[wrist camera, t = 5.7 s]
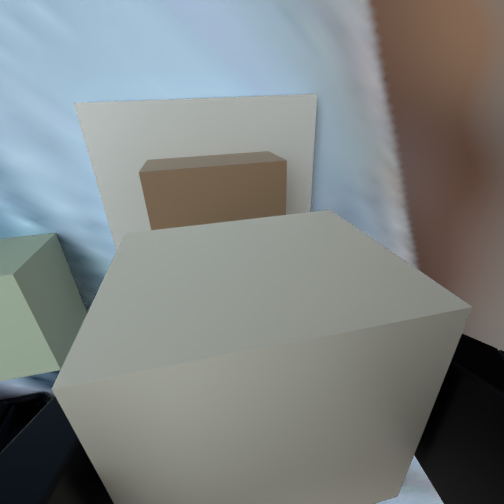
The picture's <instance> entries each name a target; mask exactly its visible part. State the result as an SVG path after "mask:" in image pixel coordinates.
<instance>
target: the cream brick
mask: <svg viewBox="0 0 504 504" xmlns="http://www.w3.org/2000/svg"><path fill="white" fill-rule="evenodd" d="M471 309H472V306H470V305H469V304H467V303H466V302H464V301H463V300H461V299H459V298H458V297H457V296H456V295H454V294H453V293H451V292H450V291H448V290H447V289H445V288H444V287H442V286H441V285H439V284H438V283H437V282H435V281H433V280H432V279H431V278H429V277H428V276H426V275H425V274H423V273H422V272H421V271H419V270H418V269H416V268H415V267H413V266H412V265H410V264H409V263H407V262H406V261H404V260H403V259H402V258H400V257H399V256H397V255H396V254H394V253H393V252H391V251H390V250H388V249H387V248H385V247H384V246H383V245H381V244H380V243H378V242H377V241H375V240H374V239H372V238H371V237H369V236H368V235H367V234H365V233H364V232H362V231H361V230H359V229H358V228H356V227H355V226H353V225H352V224H350V223H349V222H348V221H346V220H345V219H343V218H342V217H340V216H339V215H337V214H336V213H334V212H333V211H332V210H324V211H315V212H306V213H298V214H289V215H280V216H271V217H263V218H254V219H245V220H237V221H228V222H219V223H211V224H202V225H193V226H184V227H176V228H167V229H158V230H150V231H141V232H132V233H125V234H124V237H123V239H122V241H121V243H120V245H119V247H118V249H117V251H116V254H115V256H114V258H113V260H112V262H111V264H110V266H109V268H108V271H107V273H106V275H105V277H104V279H103V281H102V283H101V285H100V288H99V290H98V292H97V294H96V296H95V298H94V300H93V302H92V304H91V307H90V309H89V311H88V313H87V315H86V317H85V319H84V321H83V324H82V326H81V328H80V330H79V332H78V334H77V336H76V338H75V341H74V343H73V345H72V347H71V349H70V351H69V353H68V355H67V358H66V360H65V362H64V364H63V366H62V368H61V370H60V372H59V375H58V377H57V379H56V381H55V383H54V385H53V387H52V391H53V393H54V395H55V397H56V398H57V400H58V402H59V404H60V406H61V408H62V409H63V411H64V413H65V415H66V417H67V418H68V420H69V422H70V424H71V426H72V428H73V429H74V431H75V433H76V435H77V437H78V439H79V440H80V442H81V444H82V446H83V448H84V450H85V451H86V453H87V455H88V457H89V459H90V460H91V462H92V464H93V466H94V468H95V470H96V471H97V473H98V475H99V477H100V479H101V481H102V482H103V484H104V486H105V488H106V490H107V492H108V493H109V495H110V497H111V499H112V501H113V502H114V504H375V503H378V502H381V501H385V500H388V499H391V498H394V497H397V496H398V494H399V492H400V489H401V487H402V484H403V482H404V479H405V477H406V474H407V472H408V469H409V467H410V464H411V461H412V459H413V456H414V454H415V451H416V449H417V446H418V444H419V441H420V439H421V436H422V434H423V431H424V429H425V426H426V423H427V421H428V418H429V416H430V413H431V411H432V408H433V406H434V403H435V401H436V398H437V396H438V393H439V391H440V388H441V385H442V383H443V380H444V378H445V375H446V373H447V370H448V368H449V365H450V363H451V360H452V358H453V355H454V352H455V350H456V347H457V345H458V342H459V340H460V337H461V335H462V332H463V330H464V327H465V325H466V322H467V319H468V317H469V314H470V312H471Z"/></svg>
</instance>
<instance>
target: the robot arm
mask: <svg viewBox="0 0 504 504" xmlns="http://www.w3.org/2000/svg"><path fill="white" fill-rule="evenodd" d="M414 455H415V457H416V458H417V460H418V462H419V463H420V465H421V467H422V468H423V470H424V472H425V473H426V475H427V477H428V478H429V480H430V481H431V483H432V485H433V486H434V488H435V490H436V491H437V493H438V495H439V496H440V498H441V500H442V501H443V503H444V504H504V351H502V350H499V351H498V349H497V348H494V347H492V346H490V345H487V344H485V343H483V342H481V341H478V340H476V339H473V338H471V337H469V336H467V335H464V334H462V335H461V337H460V340H459V342H458V345H457V347H456V350H455V352H454V355H453V358H452V360H451V363H450V365H449V368H448V370H447V373H446V375H445V378H444V380H443V383H442V385H441V388H440V391H439V393H438V396H437V398H436V401H435V403H434V406H433V408H432V411H431V413H430V416H429V418H428V421H427V423H426V426H425V429H424V431H423V434H422V436H421V439H420V441H419V444H418V446H417V449H416V451H415V454H414ZM0 504H114V502H113V501H112V499H111V497H110V495H109V493H108V492H107V490H106V488H105V486H104V484H103V482H102V481H101V479H100V477H99V475H98V473H97V471H96V470H95V468H94V466H93V464H92V462H91V460H90V459H89V457H88V455H87V453H86V451H85V450H84V448H83V446H82V444H81V442H80V440H79V439H78V437H77V435H76V433H75V431H74V429H73V428H72V426H71V424H70V422H69V420H68V418H67V417H66V415H65V413H64V411H63V409H62V408H61V406H60V404H59V402H58V400H57V398H56V397H55V396H54V397H53V398H52V399H51V400H50V399H49V397H48V396H47V395H45V394H42V393H37V394H32V395H27V396H22V397H17V398H11V399H6V400H1V401H0Z"/></svg>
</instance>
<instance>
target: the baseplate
mask: <svg viewBox="0 0 504 504" xmlns="http://www.w3.org/2000/svg"><path fill="white" fill-rule="evenodd" d="M74 106H75V109H76V112H77V116H78V119H79V123H80V126H81V130H82V133H83V137H84V140H85V143H86V147H87V150H88V154H89V157H90V161H91V164H92V168H93V171H94V175H95V178H96V181H97V185H98V188H99V192H100V195H101V199H102V202H103V206H104V209H105V213H106V216H107V219H108V223H109V226H110V230H111V233H112V237H113V240H114V244H115V247H116V250H117V249H118V247H119V245H120V243H121V241H122V239H123V237H124V234H125V233H132V232H141V231H150V230H158V229H167V228H176V227H184V226H193V225H202V224H211V223H219V222H228V221H237V220H245V219H254V218H263V217H271V216H280V215H289V214H298V213H306V212H310V209H311V193H312V176H313V159H314V142H315V125H316V108H317V94H302V95H275V96H248V97H222V98H195V99H169V100H142V101H115V102H89V103H74Z"/></svg>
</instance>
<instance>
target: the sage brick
mask: <svg viewBox="0 0 504 504" xmlns="http://www.w3.org/2000/svg"><path fill="white" fill-rule="evenodd" d="M86 315H87V312H86V309H85V306H84V304H83V301H82V299H81V296H80V294H79V291H78V288H77V286H76V283H75V281H74V278H73V276H72V273H71V271H70V268H69V265H68V263H67V260H66V258H65V255H64V253H63V250H62V248H61V245H60V242H59V240H58V237H57V235H56V233H50V234H41V235H32V236H23V237H14V238H4V239H0V381H4V380H9V379H14V378H20V377H25V376H31V375H36V374H41V373H47V372H52V371H58V370H61V368H62V366H63V364H64V362H65V360H66V358H67V355H68V353H69V351H70V349H71V347H72V345H73V343H74V341H75V338H76V336H77V334H78V332H79V330H80V328H81V326H82V324H83V321H84V319H85V317H86Z"/></svg>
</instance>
